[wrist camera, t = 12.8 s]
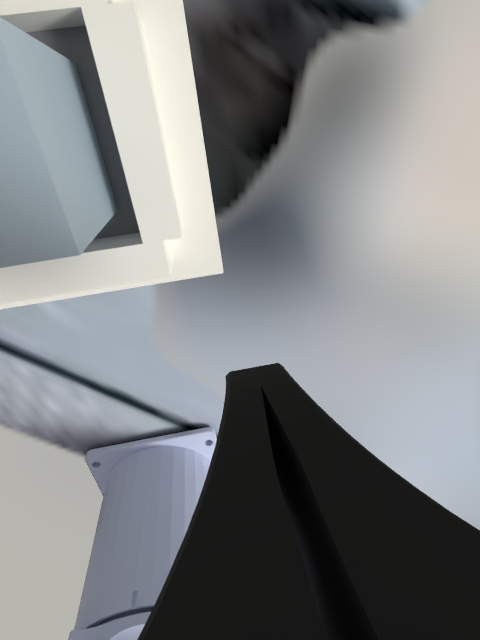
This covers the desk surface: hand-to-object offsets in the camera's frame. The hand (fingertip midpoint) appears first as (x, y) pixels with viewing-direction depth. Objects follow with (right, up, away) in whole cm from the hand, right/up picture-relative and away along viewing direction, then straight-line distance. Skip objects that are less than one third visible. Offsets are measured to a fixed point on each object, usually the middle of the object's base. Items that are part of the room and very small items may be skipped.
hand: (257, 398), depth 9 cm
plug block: (-8, +8, +4) cm, 12 cm away
